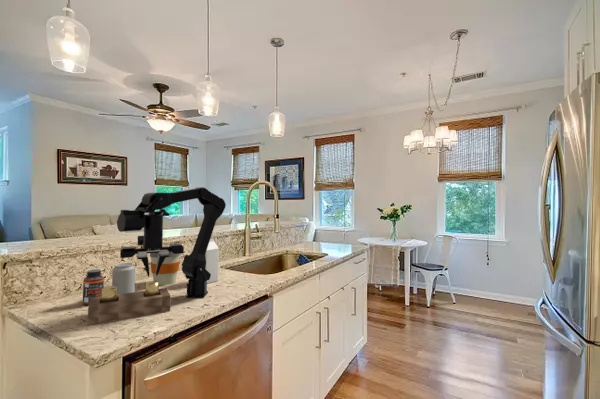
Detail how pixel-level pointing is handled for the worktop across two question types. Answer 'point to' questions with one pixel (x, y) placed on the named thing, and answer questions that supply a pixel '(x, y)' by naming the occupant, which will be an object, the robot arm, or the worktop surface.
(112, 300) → the peg
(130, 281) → the can
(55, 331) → the worktop surface
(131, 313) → the walnut block
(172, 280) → the reusable coffee cup
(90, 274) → the supplement bottle
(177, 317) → the worktop surface
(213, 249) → the milk carton
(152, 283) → the peg
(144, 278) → the worktop surface
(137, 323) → the worktop surface
